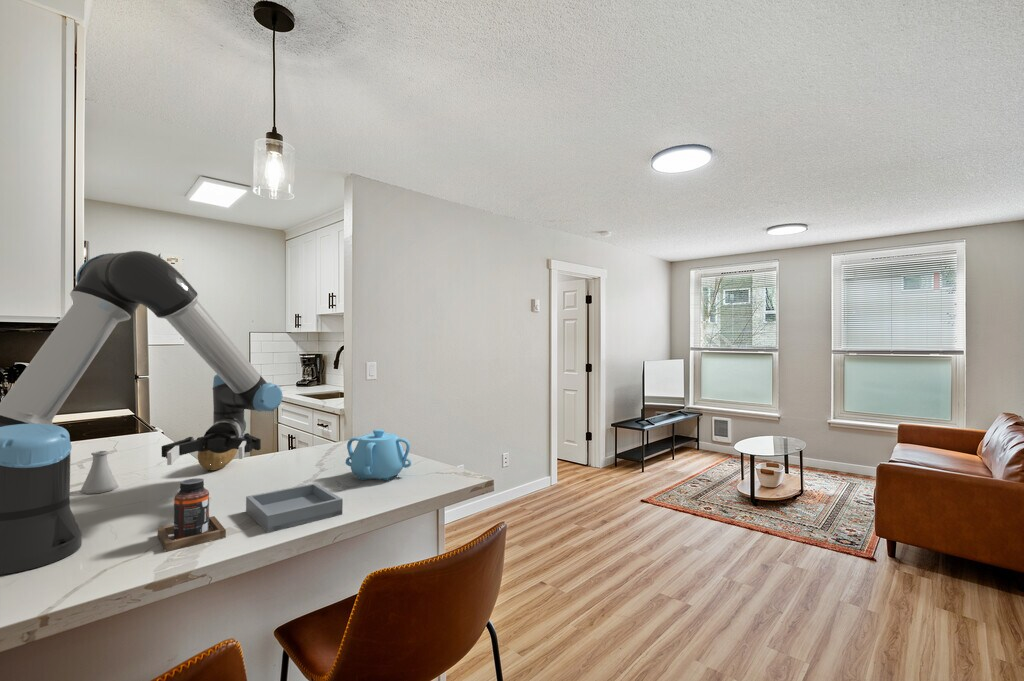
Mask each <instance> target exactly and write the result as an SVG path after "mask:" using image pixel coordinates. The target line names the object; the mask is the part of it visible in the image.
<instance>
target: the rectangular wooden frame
mask: <svg viewBox="0 0 1024 681" xmlns="http://www.w3.org/2000/svg"><path fill="white" fill-rule="evenodd" d="M209 527H211V529H212V531H209V532H207V533H203V534H198V535H194V536H189V537H185V538H181V539H176V540H175V539H172V540H171V538H170V536H169V535H174V524H169V525H166V526H165V525H164V526H161V527H160V526H159V527H157V537H158V539H159V541H160V543H161V545H162V548H163V550H164V552H165V553H166V552H170V551H175V550H178V549H183V548H187V547H191V546H196V545H200V544H204V543H208V542H211V541H210V540H213V541H215V540H214V539H217V540H219V539H218V538H221V539H223V537H225V538H226V537H227V534H226V533H227V531H226V528H225V527H224V525H222V523H221V522H220V521H219V520H218V518H217V517H216V516H213V515H212V516H209ZM207 541H208V542H207Z"/></svg>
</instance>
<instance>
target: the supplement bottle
mask: <svg viewBox="0 0 1024 681" xmlns="http://www.w3.org/2000/svg"><path fill="white" fill-rule="evenodd" d="M204 482H205V481H204V479H203V478H200V477H199V478H198V477H197V478H189V479H184V480H182V481H180V482H179V489H180V490H179V491H178V492H177V493H175V495H174V497H173V498H174V499H173V525H174V534H173V538H174V539H173V540H176V539H181V538H185V537H189V536H194V535H198V534H203V533H207V532H210V529H209V527H210V526H209V517H210V491H209V490H208V489H207V488H205V487H204V486H205V484H204Z"/></svg>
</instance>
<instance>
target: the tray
mask: <svg viewBox="0 0 1024 681" xmlns="http://www.w3.org/2000/svg"><path fill="white" fill-rule="evenodd" d="M343 501H344V500H343V498H341V497H340V496H338V495H337V494H335V493H333V492H331V491H330V490H329V489H327V488H325V487H323V486H321V485H320V484H319V483H316V482H313V483H309V484H303V485H298V486H292V487H289V488H282V489H278V490H273V491H269V492H263V493H257V494H253V495H247V496H246V497H245V513H247V514H248V515H249V516H250V517H251V518H252V520H254V522H256V523H257V524H258V525H259V526H260V527H261V528H263V530H264V531H265V532H267V533H273V532H276V531H280V530H284V529H288V528H293V527H296V526H297V527H298V526H301V525H304V524H309V523H312V522H317V521H320V520H324V519H329V518H332V517H336V516H341V515H343Z"/></svg>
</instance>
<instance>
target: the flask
mask: <svg viewBox="0 0 1024 681" xmlns="http://www.w3.org/2000/svg"><path fill="white" fill-rule="evenodd" d="M90 454H91V456H92V463H91V466H90V469H89V472H88V474H87V476H86V479H85V481H84V483H83V485H82V486H81V489H80V490H79V493H82V494H86V495H89V494H101V493H106V492H110V491H113V490H115V489H117V488H119V485H118V482H117V480H116V479H115V477H114V475H113V472H112V471H111V468H110V466H109V461H108V454H109V450H98V451H97V450H96V451H93V452H91V453H90Z"/></svg>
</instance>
